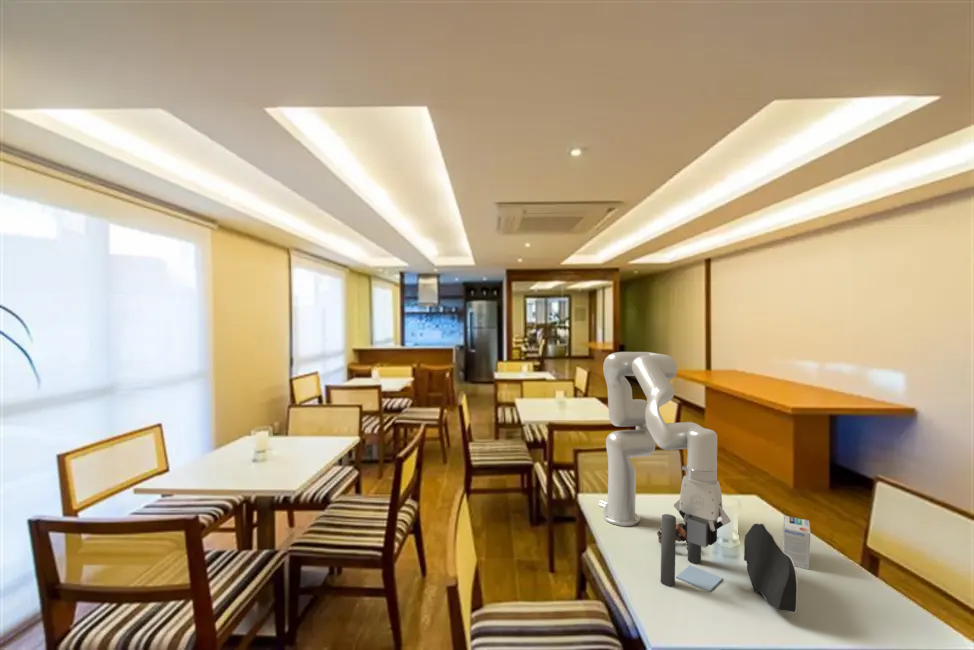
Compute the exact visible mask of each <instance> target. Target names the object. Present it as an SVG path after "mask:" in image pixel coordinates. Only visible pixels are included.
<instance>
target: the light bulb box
mask: <svg viewBox="0 0 974 650" xmlns="http://www.w3.org/2000/svg"><path fill="white" fill-rule="evenodd" d="M810 526H811V525H810V521H809V519H804V518H803V519H802V518H798V517H794V516H788V515H783V528H782V530H783V531H782V550H783V552H784V553H786V554H787V555H789V556H790V557H791V558H792V560H793V562H794V565H795V567H797V568H801V569H805V570H810V558H811V557H810V552H811V527H810Z"/></svg>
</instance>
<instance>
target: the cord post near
mask: <svg viewBox="0 0 974 650" xmlns="http://www.w3.org/2000/svg"><path fill="white" fill-rule="evenodd" d="M676 524H677V517H676V516H675V515H672V514H666V513H664V514H662V515H661V527H662V534H661V543H660V544H661V545H660V546H661V547H660V553H661V554H660V583H661V584H662V585H663V586H665V587H674V586H675V584H676V544H677V543H676V542H677V541H676Z"/></svg>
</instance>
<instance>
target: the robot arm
mask: <svg viewBox="0 0 974 650" xmlns="http://www.w3.org/2000/svg"><path fill="white" fill-rule="evenodd" d="M602 367H603V368H602V370H603V377H604V380H605V383H606V387H607V389H606V390H607V403H608V404H607V405H608V406H607V407H608V418H609V421H610V423H611V424H612V425H613V426H614V427H621V428H622V427H623V428H624V427H635V429H627V430H626V429H624V430H622V429H621V430H614V431H611V432H610V433H609V434H607V437H606V439H605V447H606V453H607V462H608V463H607V464H608V465H607V466H608V467H607V468H608V469H607V471H608V472H607V475H608V477H607V479H608V480H607V501H606V500H604V499H600V500H599V503H598V506H599V508H603V509H604V511H603V514H602V517H603V519H604V520H605V521H606V522H607V523H610V524H613V525H616V526H621V527H631V526H636V525H638V524H639V523H640V520H641V518H640V516H639V514H638V513H636V499H637V497H636V492H637V491H636V490H637V488H636V487H637V485H636V484H637V471H636V467H635V465H634V464H633V462H632V461H631V459H632V458H640V457H641V458H642V457H648V456H651V455H653V454H654V452H655V449H656V445H657V447H659V448H660V449H662V450H664V451H672V450H687V451H686V465H682V467H681V470H682V471H684V472H685V475H683V478H682V482H681V486H680V487H681V488H680V494H679V500H677V501H676V502H675V503H674V504H673V507H674V508H675V510H676V511H677V512H678V513H679V515H680V516H681V517H682V519H683V520H682V521H683V523H684V524H685V532H686V537H687V519H689V518H690V517H692V516H696V517H699V518H702V519H705V520H708V522H709V525H710V530H709V531H708V544H709V545H708V546H712V545H714V544H715V543H716V542H717V540H718V529H720V528H721V527H723V526H725V525H727V524H729V523H730V522H731V519H730V517H729V516H728V514H727V512H725V510H724V509H723V498H722V489H721V486H720V485H721V484H720V481H719V480H717V479H718V477H717V475H718V472H717V471H718V434H717V432H716V431H714V430H713V429H710V428H705V427H703V426H701V425H699V424H698V423H696V422H691V421H686V422H685V421H683V422H679V421H678V422H668V423H667V422H666V421H665V420H664V418H663V416H662V415H661V412H660V408H661V407H662V406H664V405H666V404H668V403H669V402H670V401H671V400H672V399H673V398H674V396H675V389H674V387H673V386H672V384H671V382H670V380H672V379H674V378H675V377H676V376H677V373H678V367H677V363H676V361H675V359H674V358H673V357H671V356H670V355H668V354H663V353H656V352H652V351H651V352H650V351H619V352H618V351H617V352H612V353H610V354H608V355H607V356H606V357H605V359H604V361H603V366H602ZM626 377H635V378H636V380H637V382H638V384H639V386H640V388H641V389H642V391H643V394H644V395H645V397H646V399H647V400H645V399H642V398H641V399H640V398H639V399H637V398H635V399H633V389H632V386H631V383H630V382H629V381H628V379H627V378H626ZM719 518H721V520H719V521H718V519H719Z"/></svg>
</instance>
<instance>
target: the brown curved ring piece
mask: <svg viewBox="0 0 974 650" xmlns="http://www.w3.org/2000/svg"><path fill="white" fill-rule="evenodd" d="M661 534H662V526H660V528H659V530H658V531H657V532H656V535H657V536H658V543H660V544H661ZM676 542H685V543H686V546H687V547H686V550H687V551H688V541H687V537H686V532H685V523H684V522H679V523H676Z"/></svg>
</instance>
